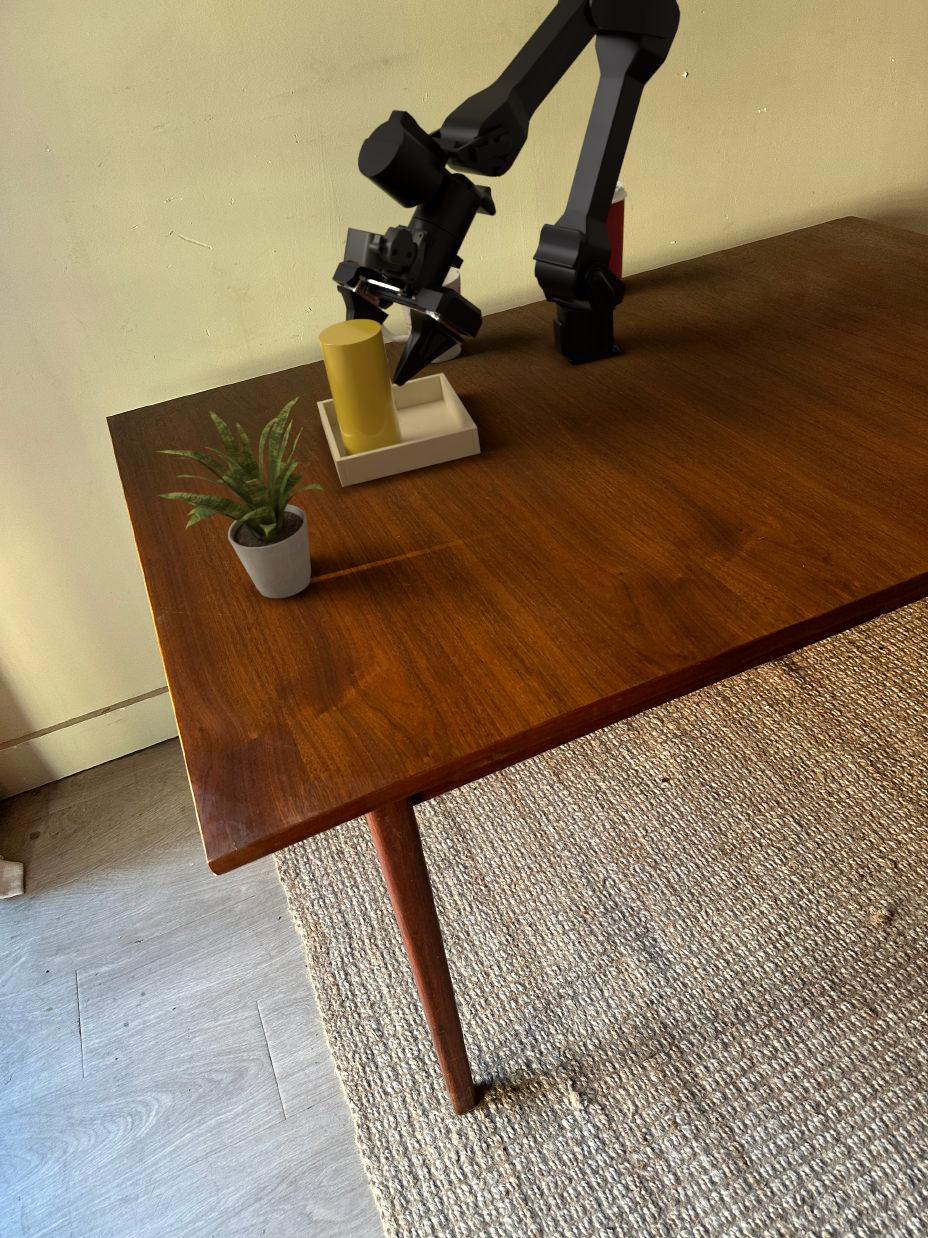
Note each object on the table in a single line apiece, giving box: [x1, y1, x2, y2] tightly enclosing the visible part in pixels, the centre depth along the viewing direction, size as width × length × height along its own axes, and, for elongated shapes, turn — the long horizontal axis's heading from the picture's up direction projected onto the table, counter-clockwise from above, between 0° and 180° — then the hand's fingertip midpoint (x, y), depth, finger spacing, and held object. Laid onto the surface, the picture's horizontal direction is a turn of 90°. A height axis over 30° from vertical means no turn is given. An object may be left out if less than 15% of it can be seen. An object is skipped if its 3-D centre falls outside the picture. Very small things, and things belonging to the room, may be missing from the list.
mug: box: [380, 267, 462, 364], centre depth 119 cm, size 8×13×10 cm, turn 78°
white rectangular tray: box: [316, 372, 481, 488], centre depth 102 cm, size 15×15×4 cm
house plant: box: [154, 396, 326, 599], centre depth 81 cm, size 14×14×16 cm
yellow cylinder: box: [317, 319, 403, 457], centre depth 96 cm, size 6×6×14 cm
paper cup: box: [606, 180, 628, 282], centre depth 126 cm, size 8×8×14 cm
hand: (370, 373), depth 96 cm, fingers open, 9 cm apart
